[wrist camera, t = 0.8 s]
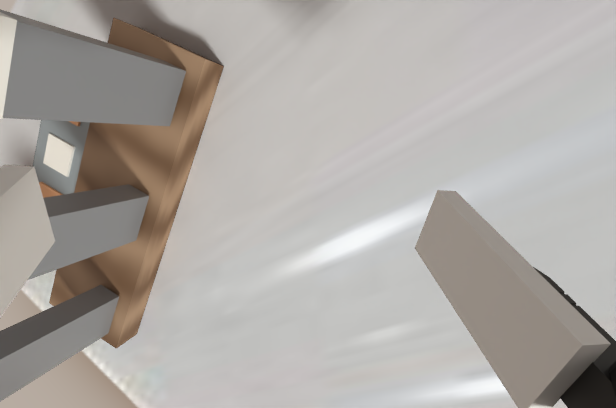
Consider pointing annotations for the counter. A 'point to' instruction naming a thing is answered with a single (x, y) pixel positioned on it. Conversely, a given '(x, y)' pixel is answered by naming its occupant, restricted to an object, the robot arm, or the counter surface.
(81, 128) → the pattern card
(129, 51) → the key inner
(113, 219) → the key middle
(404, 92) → the counter surface
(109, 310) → the key outer
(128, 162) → the brown wooden board
